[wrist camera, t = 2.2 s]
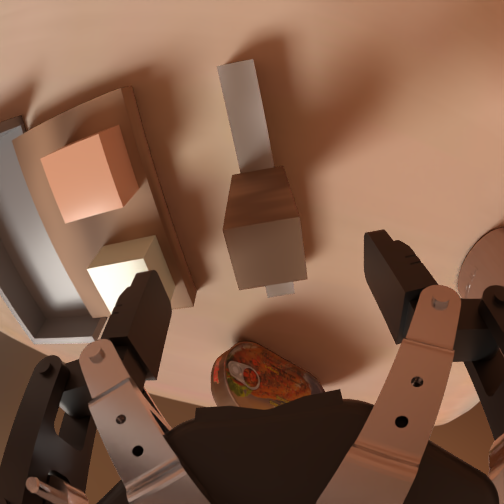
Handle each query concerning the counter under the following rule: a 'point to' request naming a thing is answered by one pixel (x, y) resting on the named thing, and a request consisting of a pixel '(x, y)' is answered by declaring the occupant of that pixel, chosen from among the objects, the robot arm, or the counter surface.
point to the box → (35, 261)
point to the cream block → (127, 267)
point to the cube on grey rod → (258, 195)
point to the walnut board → (112, 222)
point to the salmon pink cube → (91, 175)
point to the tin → (258, 378)
